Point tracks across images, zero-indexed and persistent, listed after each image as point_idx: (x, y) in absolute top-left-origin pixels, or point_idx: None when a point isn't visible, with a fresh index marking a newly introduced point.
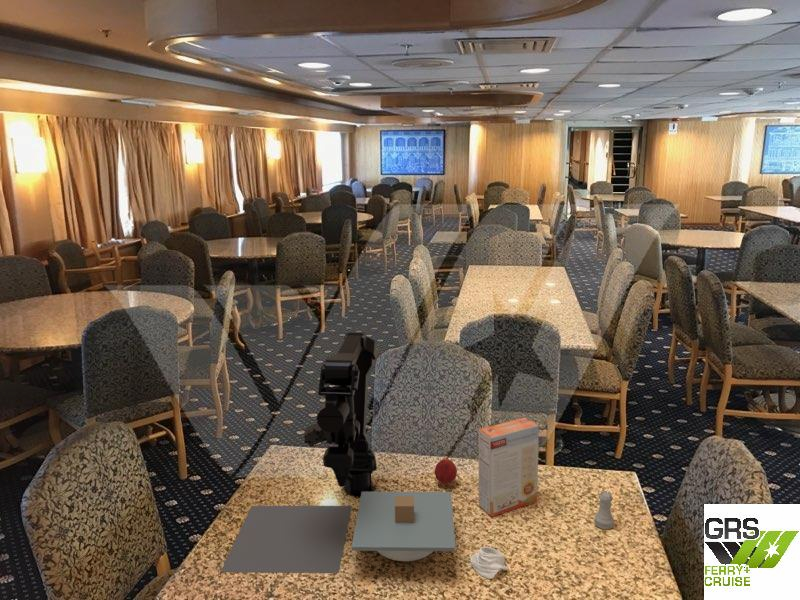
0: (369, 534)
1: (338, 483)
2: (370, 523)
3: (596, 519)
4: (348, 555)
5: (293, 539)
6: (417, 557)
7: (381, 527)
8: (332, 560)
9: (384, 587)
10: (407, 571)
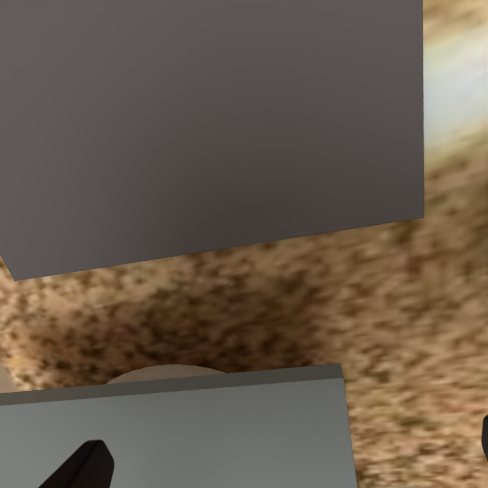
0: (21, 451)
1: (55, 473)
2: None
3: None
4: (115, 280)
5: (105, 30)
6: None
7: None
8: (57, 245)
9: (37, 388)
10: None
